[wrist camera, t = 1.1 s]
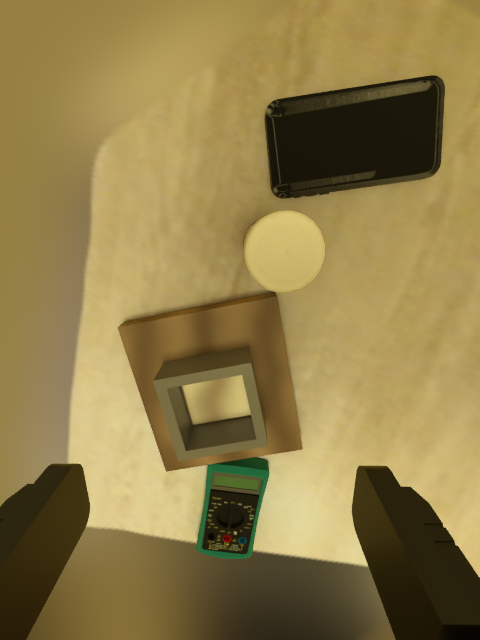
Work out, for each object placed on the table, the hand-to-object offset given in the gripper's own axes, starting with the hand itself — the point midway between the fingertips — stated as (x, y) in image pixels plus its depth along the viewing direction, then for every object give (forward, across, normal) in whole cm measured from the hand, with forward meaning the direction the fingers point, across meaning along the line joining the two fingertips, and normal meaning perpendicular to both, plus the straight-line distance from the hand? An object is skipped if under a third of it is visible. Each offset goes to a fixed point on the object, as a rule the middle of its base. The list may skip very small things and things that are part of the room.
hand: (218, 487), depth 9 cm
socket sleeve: (+21, +2, +9) cm, 23 cm away
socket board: (+23, +2, +9) cm, 25 cm away
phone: (+24, -10, -15) cm, 30 cm away
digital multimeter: (+24, +1, +26) cm, 36 cm away
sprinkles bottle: (+24, -3, -6) cm, 24 cm away
